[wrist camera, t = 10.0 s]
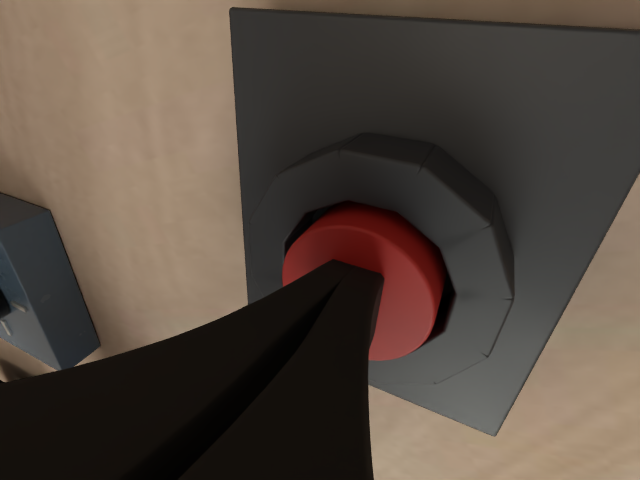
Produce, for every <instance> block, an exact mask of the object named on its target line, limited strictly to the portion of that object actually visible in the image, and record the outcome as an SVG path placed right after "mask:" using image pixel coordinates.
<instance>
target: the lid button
mask: <svg viewBox="0 0 640 480" xmlns="http://www.w3.org/2000/svg"><path fill="white" fill-rule="evenodd" d="M332 259H335V260H338V261H342V262H345V263H348V264H351V265H355V266H358V267H361V268H365V269H368V270H371V271H375V272H378V273H381V274H382V276H383V277H384V279H385V280H384V286H383V291H382V296H381V302H380V307H379V312H378V318H377V323H376V329H375V334H374V337H373V340H372V343H371V346H370V349H369V360H375V361H383V360H392V359H397V358H400V357H403V356H406V355H407V354H409V353H411V352H413V351H414V350H416V349H417V348H418V347H420V346H421V345H422V344H423V343H424V342H425V341H426V339H427V338H428V336H429V335H430V333H431V331H432V328H433V326H434V323H435V319H436V315H437V311H438V307H439V304H440V300H441V296H442V292H443V288H444V285H445V281H446V276H447V268H446V266H445V263H444V260H443V257H442V254H441V252H440V249H439V247H438V246H436V245H435V244H434V243H433V242H432V241H430V240H429V239H428V238H427V237H426V236H425V235H423V234H422V233H421V232H420V231H419V230H418V229H416V228H415V227H414V226H413V225H412V224H410V223H409V222H408V221H407V220H406V219H405V218H403V217H402V216H401V215H400V214H399V213H398V212H395V211H390V210H386V209H382V208H378V207H374V206H370V205H365V204H361V203H357V202H353V201H349V200H348V201H344V202H341V203H338V204H334V205H333V206H332V207H330V208H329V209H328V210H327V211H326V212H325V213H324V214H323V215H322V216H321V217H320V218H319V219H317V220H316V221H315V222H314V223H313V224H312V225H311V226H310V227H309V228H308V229H307V230H306V231H305V232H304V233H303V234H302V235H301V236H300V237H299V238H298V239H297V240H296V241H295V242H294V243H293V244H292V245H291V247H290V249H289V250H288V252H287V254H286V257H285V260H284V264H283V270H282V282H283V287H284V286H286V285H287V284H289V283H291V282H293V281H295V280H296V279H298V278H300V277H302V276H303V275H305V274H307V273H309V272H310V271H312V270H314V269H316V268H317V267H319V266H321V265H323V264H325V263H326V262H328V261H330V260H332Z"/></svg>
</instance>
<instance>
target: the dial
mask: <svg viewBox="0 0 640 480" xmlns="http://www.w3.org/2000/svg"><path fill="white" fill-rule="evenodd" d="M8 314H9V306H8V304H7V301H6V299H5V297H4V296H3V294H2V292H1V291H0V319H2V318H4V317H5V316H7V315H8Z"/></svg>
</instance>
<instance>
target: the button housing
mask: <svg viewBox="0 0 640 480" xmlns="http://www.w3.org/2000/svg"><path fill="white" fill-rule="evenodd" d="M229 16H230V32H231V47H232V63H233V78H234V94H235V109H236V125H237V140H238V156H239V171H240V187H241V202H242V218H243V233H244V249H245V264H246V280H247V295H248V305H249V304H251V303H253V302H255V301H257V300H260V299H261V298H263V297H265V296H267V295H269V294H271V293H273V292H275V291H276V290H278V289H280V288H282V287H283V282H282V270H283V264H284V260H285V257H286V254H287V252H288V250H289V249H290V247H291V245H292V244H293V243H294V242H295V241H296V240H297V239H298V238H299V237H300V236H301V235H302V234H303V233H304V232H305V231H306V230H307V229H308V228H309V227H310V226H311V225H312V224H313V223H314V222H315V221H316V220H317V219H319V218H320V217H321V216H322V215H323V214H324V213H325V212H326V211H327V210H328V209H329V208H330V207H332V206H333V205H334V204H338V203H341V202H344V201H348V200H349V201H353V202H357V203H361V204H365V205H370V206H374V207H378V208H382V209H386V210H390V211H395V212H398V213H399V214H400V215H401V216H402V217H403V218H405V219H406V220H407V221H408V222H409V223H410V224H412V225H413V226H414V227H415V228H416V229H418V230H419V231H420V232H421V233H422V234H423V235H425V236H426V237H427V238H428V239H429V240H430V241H432V242H433V243H434V244H435V245H436V246H438V247H439V249H440V252H441V254H442V257H443V260H444V263H445V266H446V268H447V276H446V281H445V285H444V288H443V292H442V296H441V300H440V304H439V307H438V311H437V315H436V319H435V323H434V326H433V328H432V331H431V333H430V335H429V336H428V338H427V339H426V341H425V342H424V343H423V344H422V345H421V346H420V347H418V348H417V349H416V350H414V351H413V352H411V353H409V354H407V355H406V356H403V357H400V358H397V359H392V360H383V361H375V360H369V365H368V385H371V386H373V387H375V388H378V389H380V390H383V391H385V392H387V393H390V394H392V395H395V396H397V397H400V398H402V399H404V400H407V401H409V402H412V403H414V404H416V405H419V406H421V407H424V408H426V409H428V410H431V411H433V412H436V413H438V414H441V415H443V416H445V417H448V418H450V419H453V420H455V421H457V422H460V423H462V424H465V425H467V426H469V427H472V428H474V429H477V430H479V431H482V432H484V433H486V434H489V435H491V436H496V435H497V433H498V431H499V430H500V428H501V426H502V424H503V422H504V420H505V419H506V417H507V415H508V413H509V411H510V409H511V408H512V406H513V404H514V402H515V400H516V398H517V397H518V395H519V393H520V391H521V389H522V387H523V386H524V384H525V382H526V380H527V378H528V376H529V375H530V373H531V371H532V369H533V367H534V365H535V364H536V362H537V360H538V358H539V356H540V354H541V353H542V351H543V349H544V347H545V345H546V343H547V342H548V340H549V338H550V336H551V334H552V332H553V331H554V329H555V327H556V325H557V323H558V321H559V320H560V318H561V316H562V314H563V312H564V310H565V309H566V307H567V305H568V303H569V301H570V299H571V298H572V296H573V294H574V292H575V290H576V288H577V287H578V285H579V283H580V281H581V279H582V277H583V276H584V274H585V272H586V270H587V268H588V266H589V265H590V263H591V261H592V259H593V257H594V255H595V254H596V252H597V250H598V248H599V246H600V244H601V243H602V241H603V239H604V237H605V235H606V233H607V232H608V230H609V228H610V226H611V224H612V222H613V221H614V219H615V217H616V215H617V213H618V211H619V210H620V208H621V206H622V204H623V202H624V200H625V199H626V197H627V195H628V193H629V191H630V189H631V188H632V186H633V184H634V182H635V180H636V178H637V177H638V175H639V173H640V30H637V29H619V28H601V27H583V26H565V25H547V24H529V23H510V22H492V21H474V20H456V19H438V18H420V17H402V16H383V15H365V14H347V13H329V12H311V11H293V10H275V9H257V8H238V7H232V8H230V10H229Z"/></svg>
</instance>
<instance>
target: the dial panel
mask: <svg viewBox="0 0 640 480" xmlns="http://www.w3.org/2000/svg"><path fill="white" fill-rule="evenodd" d="M0 291H1V292H2V294H3V296H4V297H5V299H6V301H7V304H8V306H9V314H8V315H7V316H5V317H4V318H2V319H0V338H2V339H4V340H5V341H7V342H9V343H11V344H12V345H14V346H16V347H18V348H19V349H21V350H23V351H24V352H26V353H28V354H30V355H31V356H33V357H35V358H37V359H38V360H40V361H42V362H44V363H45V364H47V365H49V366H51V367H52V368H54V369H56V370H58V371H59V370H63V369H67V368H71V367H74V366H75V365H77V364H78V363H79V362H80V361H82V360H83V359H84V358H86V357H87V356H88V355H90V354H91V353H92V352H94V351H95V350H96V349H97V348H99V347H100V343H99V341H98V338H97V335H96V333H95V330H94V327H93V325H92V322H91V319H90V317H89V314H88V311H87V309H86V306H85V303H84V301H83V298H82V295H81V293H80V290H79V287H78V285H77V282H76V279H75V277H74V274H73V271H72V269H71V266H70V263H69V261H68V258H67V255H66V253H65V250H64V248H63V245H62V242H61V240H60V237H59V234H58V232H57V229H56V226H55V224H54V221H53V218H52V216H51V213H50V211H49V210H47V209H44V208H41V207H38V206H36V205H33V204H30V203H27V202H24V201H22V200H19V199H16V198H13V197H10V196H7V195H5V194H2V193H0Z"/></svg>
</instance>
